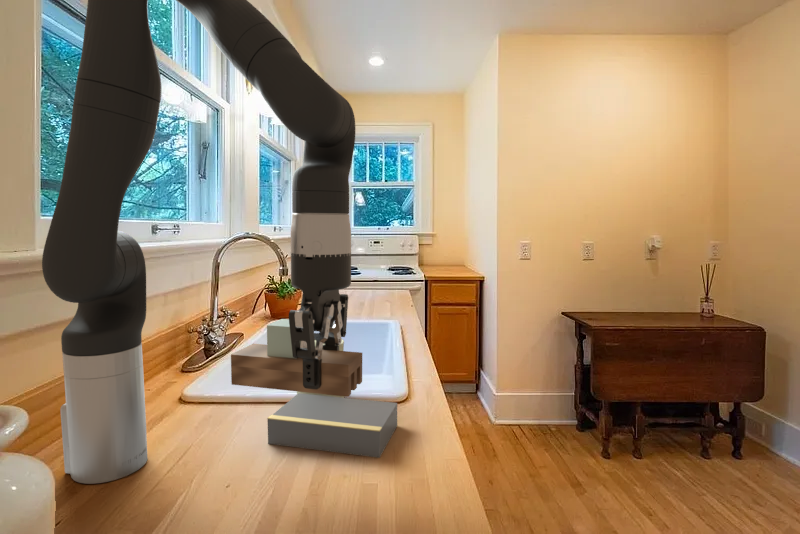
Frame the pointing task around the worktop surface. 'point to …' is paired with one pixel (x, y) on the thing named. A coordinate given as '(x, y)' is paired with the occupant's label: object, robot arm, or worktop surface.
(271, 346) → the pale green cube
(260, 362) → the board
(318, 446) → the dock
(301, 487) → the worktop surface
